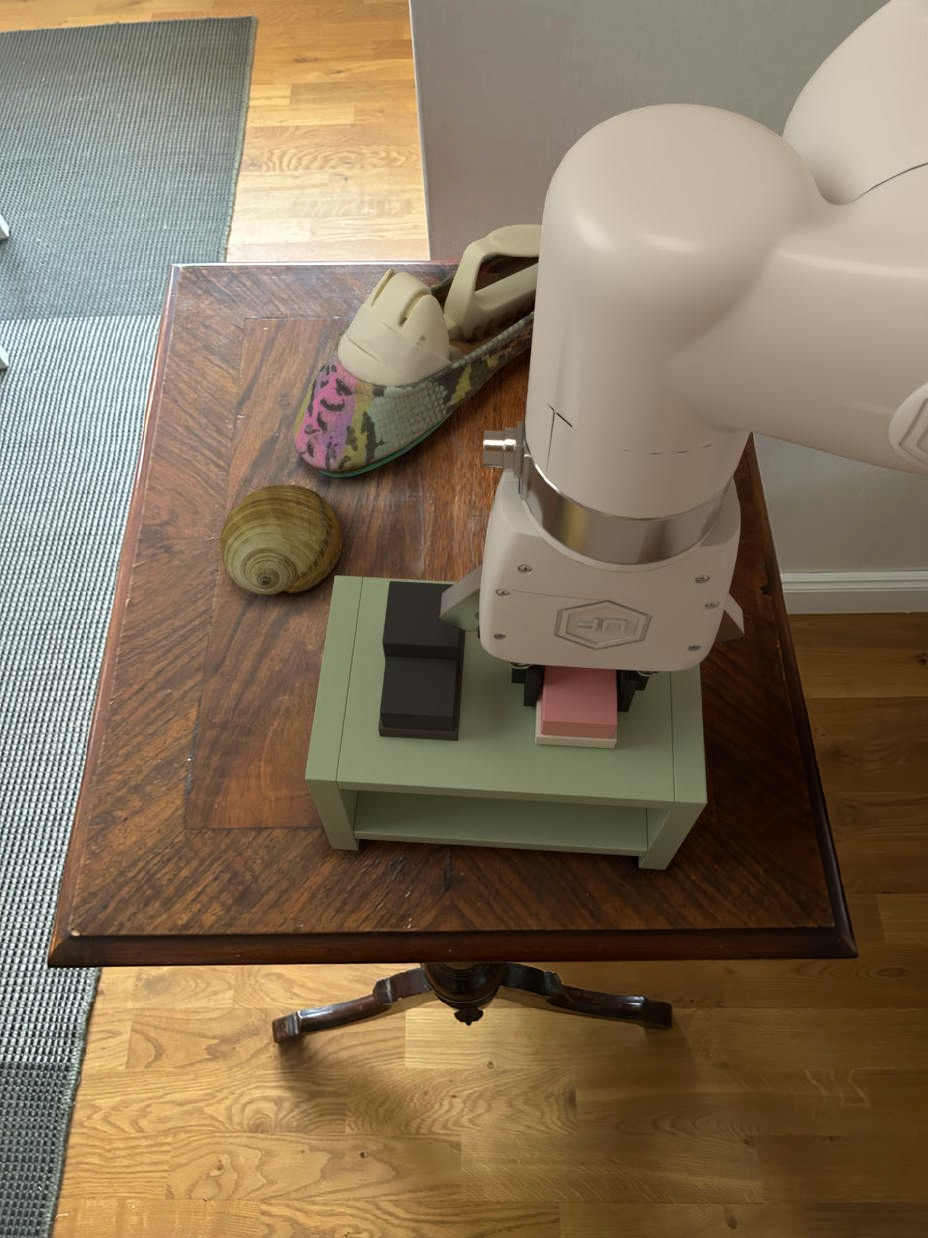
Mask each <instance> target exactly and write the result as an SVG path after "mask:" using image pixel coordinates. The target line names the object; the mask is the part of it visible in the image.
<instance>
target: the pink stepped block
mask: <svg viewBox="0 0 928 1238" xmlns="http://www.w3.org/2000/svg"><path fill="white" fill-rule="evenodd" d="M617 671H618V669H601V668H584V667H568V666H553V665H543V670H542V680H541V686H540V692H539V698H538V700H537V704H536V729H535V743H536V744H547V745H564V746H580V747H597V748H614V747H615V744H616V741H617Z"/></svg>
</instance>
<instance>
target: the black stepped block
mask: <svg viewBox="0 0 928 1238" xmlns="http://www.w3.org/2000/svg"><path fill="white" fill-rule="evenodd" d="M452 585H454V584H438V583H420V582H401V581H390V582H389V589H388V597H387V606H386V614H385V623H384V631H383V640H382V644H383V650H384V657H385V670H384V679H383V687H382V696H381V705H380V717H379V725H378V730H379V735H380V736H384V737H401V738H417V739H434V740H451V741H457V740H458V730H459V716H460V702H461V688H462V675H463V661H464V647H465V633H466V631H465V630H463V629H460V628H457V627H455V626H452V625H449V624H447V623H444V622H442V621H441V620H440V619H439V613H440V601H441V594H442V593H443V592H444V591H446V590H447V589H448V588H450V587H451V586H452Z"/></svg>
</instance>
